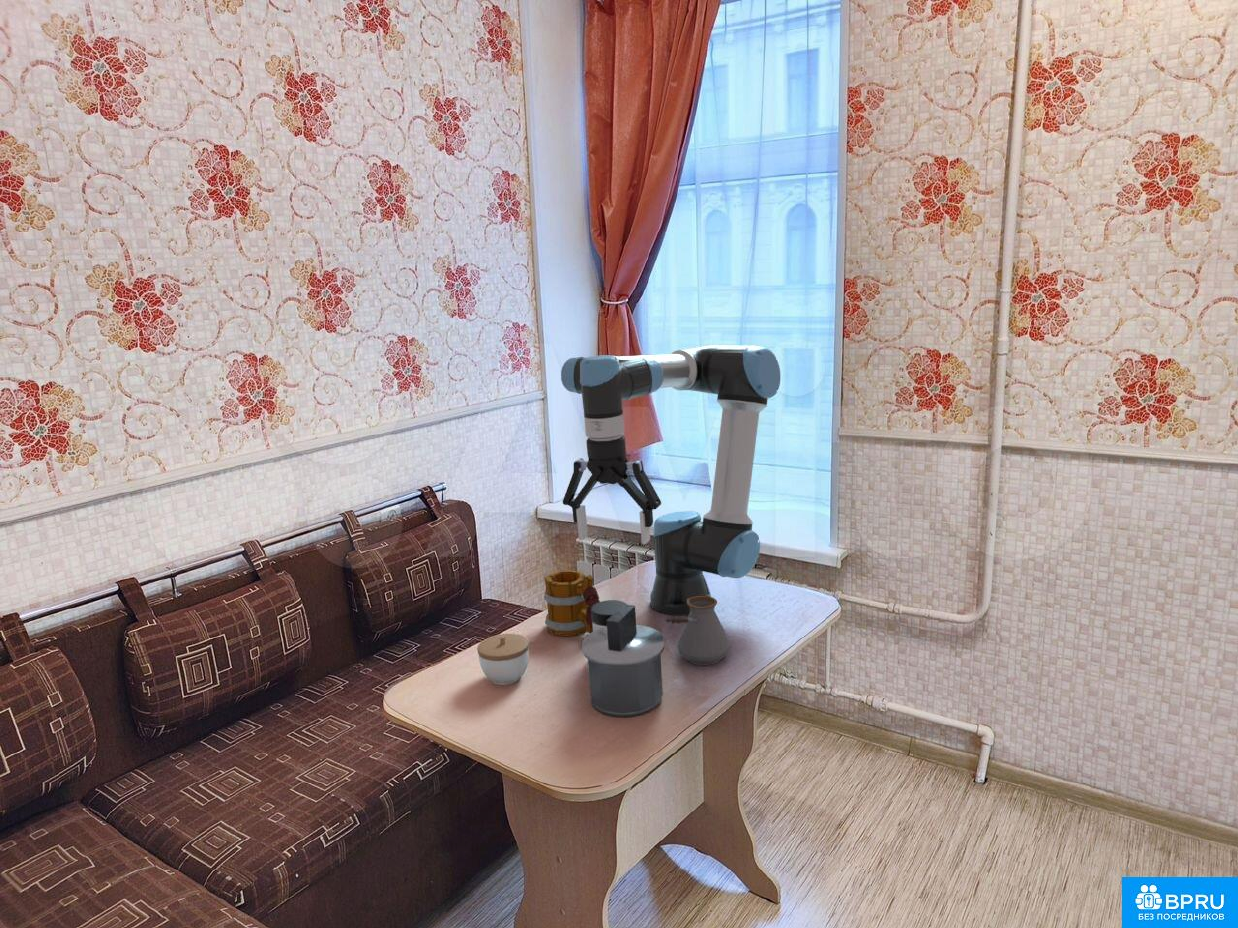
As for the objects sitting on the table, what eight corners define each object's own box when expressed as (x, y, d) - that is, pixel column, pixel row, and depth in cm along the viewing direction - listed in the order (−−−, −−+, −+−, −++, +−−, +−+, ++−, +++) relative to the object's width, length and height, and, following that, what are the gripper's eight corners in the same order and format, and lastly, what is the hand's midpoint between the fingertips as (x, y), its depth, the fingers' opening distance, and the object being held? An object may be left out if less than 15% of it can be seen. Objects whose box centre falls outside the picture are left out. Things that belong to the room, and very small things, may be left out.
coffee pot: (692, 641, 187) (690, 578, 183) (739, 651, 181) (737, 586, 177) (644, 683, 169) (640, 615, 166) (694, 695, 163) (691, 625, 160)
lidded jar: (540, 668, 178) (536, 628, 176) (518, 693, 168) (514, 650, 166) (495, 663, 182) (491, 624, 180) (471, 687, 172) (467, 646, 170)
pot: (621, 666, 177) (618, 619, 174) (676, 699, 162) (673, 648, 159) (565, 688, 169) (561, 639, 166) (618, 725, 154) (614, 671, 152)
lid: (603, 630, 172) (601, 593, 170) (676, 639, 165) (674, 601, 163) (568, 664, 158) (565, 624, 156) (646, 676, 151) (643, 635, 149)
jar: (606, 671, 175) (602, 618, 172) (586, 657, 182) (582, 607, 179) (640, 658, 180) (637, 607, 177) (619, 645, 187) (616, 596, 184)
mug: (569, 613, 206) (564, 556, 202) (617, 630, 195) (612, 570, 191) (536, 628, 198) (531, 570, 195) (583, 647, 187) (579, 585, 184)
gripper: (539, 440, 162) (550, 542, 167) (659, 442, 152) (667, 550, 157) (556, 431, 168) (566, 529, 174) (672, 432, 159) (679, 536, 164)
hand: (614, 539), depth 166 cm, fingers open, 13 cm apart
